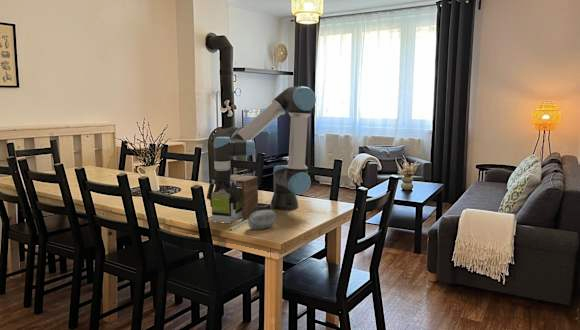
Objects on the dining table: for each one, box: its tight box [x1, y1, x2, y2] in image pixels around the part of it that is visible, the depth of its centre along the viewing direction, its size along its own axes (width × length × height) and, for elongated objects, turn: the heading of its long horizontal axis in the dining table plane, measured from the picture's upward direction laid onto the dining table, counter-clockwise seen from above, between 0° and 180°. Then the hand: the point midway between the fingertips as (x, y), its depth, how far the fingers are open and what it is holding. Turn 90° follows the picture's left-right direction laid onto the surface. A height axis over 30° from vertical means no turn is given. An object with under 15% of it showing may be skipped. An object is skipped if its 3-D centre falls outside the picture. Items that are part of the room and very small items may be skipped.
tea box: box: [211, 187, 243, 224], centre depth 221 cm, size 15×10×15 cm, turn 159°
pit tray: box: [258, 202, 272, 211], centre depth 241 cm, size 22×7×3 cm, turn 66°
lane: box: [190, 214, 249, 230], centre depth 215 cm, size 23×16×1 cm
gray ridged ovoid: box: [247, 209, 277, 231], centre depth 207 cm, size 14×10×10 cm
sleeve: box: [214, 174, 259, 221], centre depth 228 cm, size 16×14×19 cm
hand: (223, 214), depth 217 cm, fingers closed on tea box, 10 cm apart
